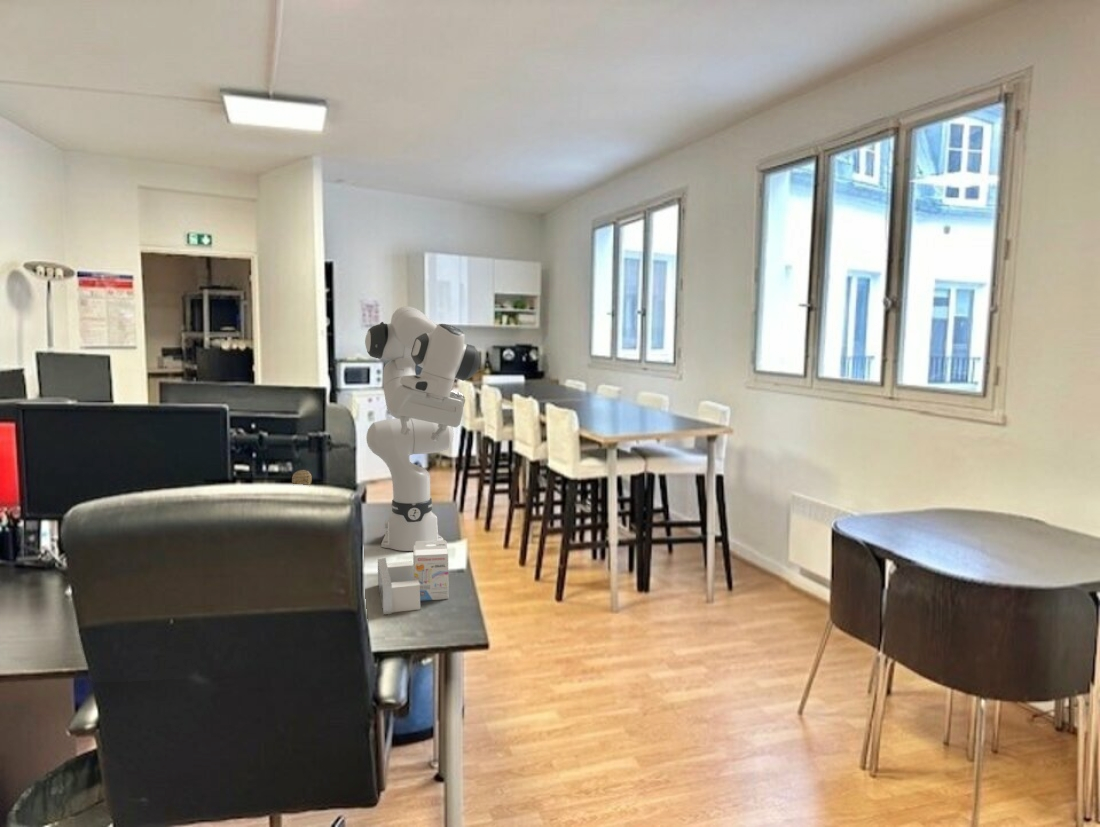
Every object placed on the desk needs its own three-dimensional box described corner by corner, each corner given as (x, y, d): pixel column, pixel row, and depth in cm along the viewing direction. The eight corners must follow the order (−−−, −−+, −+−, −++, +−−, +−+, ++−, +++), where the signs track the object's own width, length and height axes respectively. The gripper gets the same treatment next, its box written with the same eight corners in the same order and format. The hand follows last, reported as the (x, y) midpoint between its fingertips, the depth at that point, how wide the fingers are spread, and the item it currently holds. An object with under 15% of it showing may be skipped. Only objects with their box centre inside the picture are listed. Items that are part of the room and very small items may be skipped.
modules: (386, 585, 187) (385, 563, 186) (412, 583, 189) (411, 560, 188) (392, 612, 170) (391, 587, 169) (420, 609, 172) (419, 585, 171)
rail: (378, 585, 187) (377, 558, 186) (386, 584, 188) (385, 558, 187) (383, 614, 168) (382, 586, 167) (392, 613, 169) (391, 585, 168)
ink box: (413, 601, 176) (412, 548, 175) (413, 589, 184) (412, 538, 183) (449, 599, 178) (448, 546, 176) (447, 587, 186) (446, 536, 184)
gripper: (460, 392, 197) (445, 440, 197) (395, 375, 183) (380, 427, 184) (473, 397, 192) (458, 446, 193) (407, 380, 178) (391, 433, 179)
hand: (419, 437), depth 188 cm, fingers open, 8 cm apart
